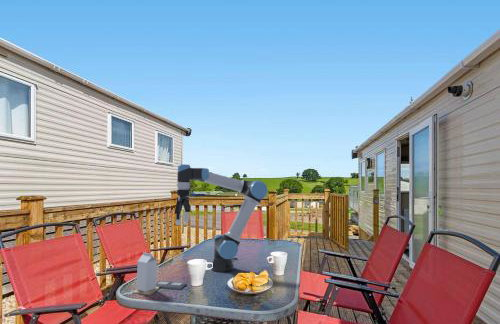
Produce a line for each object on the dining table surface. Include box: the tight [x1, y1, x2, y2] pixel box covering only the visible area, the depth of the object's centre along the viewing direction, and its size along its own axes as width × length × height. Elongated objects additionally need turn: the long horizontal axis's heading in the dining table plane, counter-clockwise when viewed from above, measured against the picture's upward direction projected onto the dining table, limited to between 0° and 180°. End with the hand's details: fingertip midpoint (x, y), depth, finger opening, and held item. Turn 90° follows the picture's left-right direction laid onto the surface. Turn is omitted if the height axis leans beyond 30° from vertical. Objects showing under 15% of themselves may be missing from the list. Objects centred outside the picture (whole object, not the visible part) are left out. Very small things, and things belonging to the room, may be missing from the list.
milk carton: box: [136, 251, 158, 292], centre depth 166 cm, size 7×7×19 cm
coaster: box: [132, 287, 160, 296], centre depth 166 cm, size 10×10×1 cm
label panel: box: [156, 280, 187, 290], centre depth 174 cm, size 16×9×1 cm, turn 81°
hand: (182, 223), depth 192 cm, fingers open, 13 cm apart
